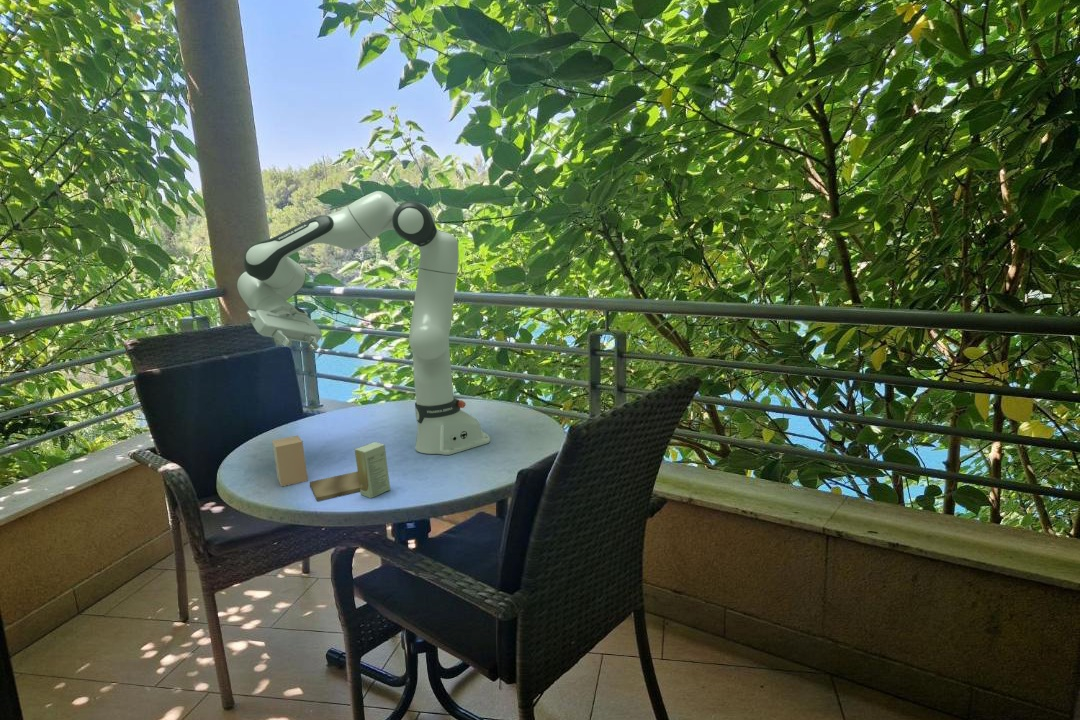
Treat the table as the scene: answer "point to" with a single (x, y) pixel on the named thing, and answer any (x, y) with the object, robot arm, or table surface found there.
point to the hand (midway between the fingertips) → (302, 346)
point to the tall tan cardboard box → (289, 460)
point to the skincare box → (372, 469)
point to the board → (335, 486)
